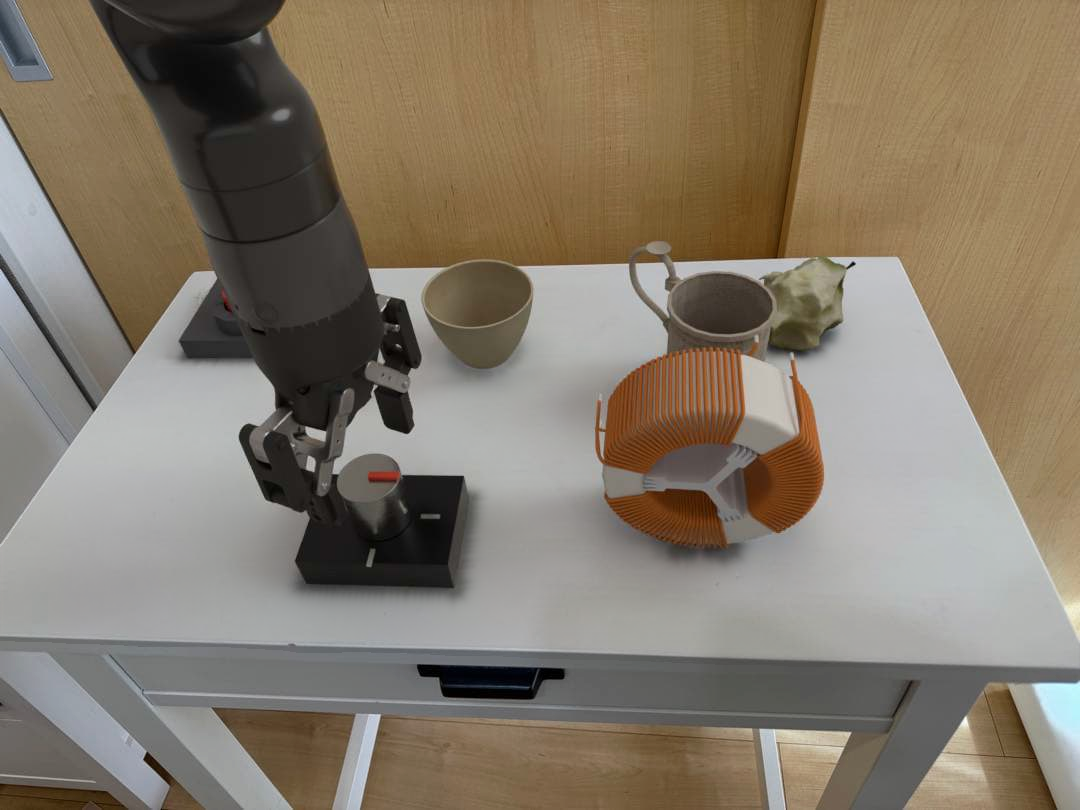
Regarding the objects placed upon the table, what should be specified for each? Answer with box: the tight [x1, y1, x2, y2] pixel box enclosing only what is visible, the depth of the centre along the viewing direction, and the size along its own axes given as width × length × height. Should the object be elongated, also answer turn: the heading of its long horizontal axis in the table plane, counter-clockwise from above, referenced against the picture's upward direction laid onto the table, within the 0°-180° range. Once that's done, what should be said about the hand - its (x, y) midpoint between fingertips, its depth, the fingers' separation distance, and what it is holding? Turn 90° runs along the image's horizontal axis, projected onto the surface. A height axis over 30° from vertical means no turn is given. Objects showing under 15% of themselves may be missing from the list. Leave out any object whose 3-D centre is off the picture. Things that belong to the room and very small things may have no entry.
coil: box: [594, 335, 825, 549], centre depth 53 cm, size 7×15×15 cm, turn 83°
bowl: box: [420, 258, 534, 370], centre depth 70 cm, size 10×10×7 cm
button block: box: [178, 278, 253, 358], centre depth 77 cm, size 11×10×4 cm
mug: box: [628, 240, 777, 362], centre depth 64 cm, size 14×10×12 cm
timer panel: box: [294, 473, 470, 589], centre depth 57 cm, size 11×9×3 cm
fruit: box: [758, 254, 857, 352], centre depth 70 cm, size 9×9×8 cm
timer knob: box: [337, 452, 412, 541], centre depth 54 cm, size 4×4×5 cm
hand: (367, 471), depth 52 cm, fingers open, 8 cm apart
